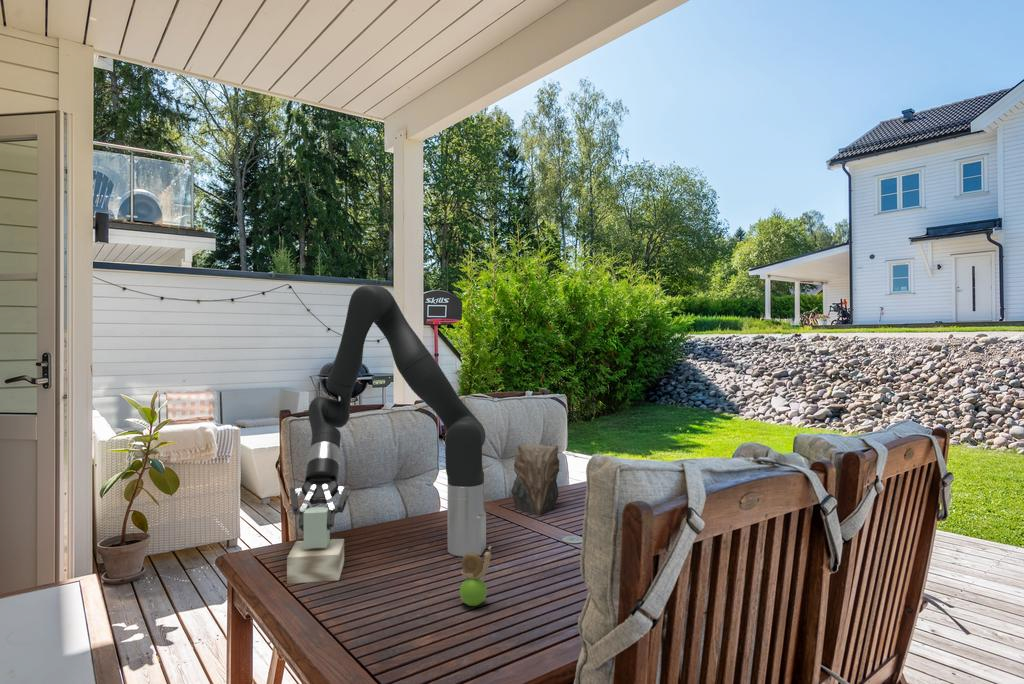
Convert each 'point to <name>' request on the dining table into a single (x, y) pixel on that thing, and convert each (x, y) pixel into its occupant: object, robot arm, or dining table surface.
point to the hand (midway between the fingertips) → (315, 528)
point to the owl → (536, 478)
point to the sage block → (316, 527)
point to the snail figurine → (474, 578)
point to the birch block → (315, 562)
